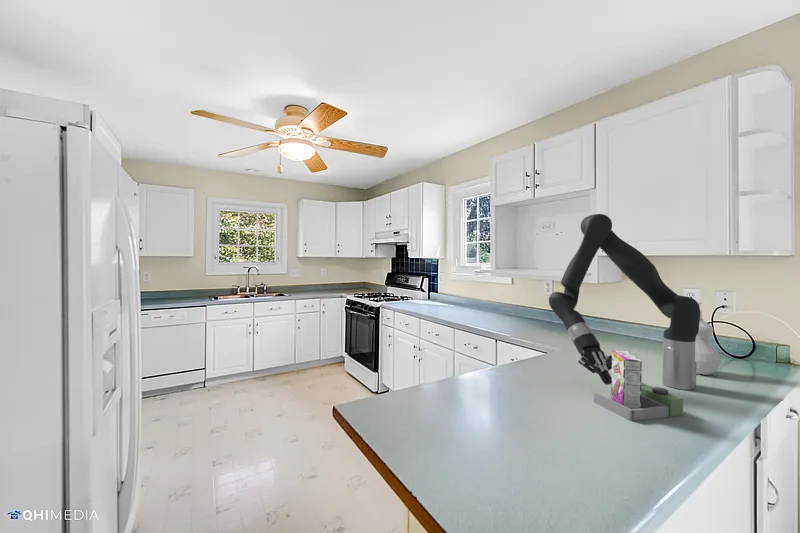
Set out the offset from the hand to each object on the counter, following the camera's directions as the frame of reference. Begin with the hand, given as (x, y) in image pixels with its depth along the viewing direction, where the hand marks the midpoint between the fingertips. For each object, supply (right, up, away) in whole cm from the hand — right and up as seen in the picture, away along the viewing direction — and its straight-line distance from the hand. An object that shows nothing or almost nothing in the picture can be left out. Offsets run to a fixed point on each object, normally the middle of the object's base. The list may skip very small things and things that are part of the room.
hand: (609, 383), depth 116 cm
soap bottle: (+54, -6, +31) cm, 63 cm away
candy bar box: (+1, -6, -6) cm, 8 cm away
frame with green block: (+4, -5, -7) cm, 10 cm away
